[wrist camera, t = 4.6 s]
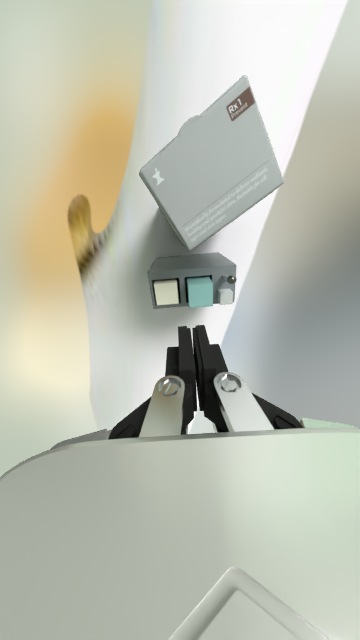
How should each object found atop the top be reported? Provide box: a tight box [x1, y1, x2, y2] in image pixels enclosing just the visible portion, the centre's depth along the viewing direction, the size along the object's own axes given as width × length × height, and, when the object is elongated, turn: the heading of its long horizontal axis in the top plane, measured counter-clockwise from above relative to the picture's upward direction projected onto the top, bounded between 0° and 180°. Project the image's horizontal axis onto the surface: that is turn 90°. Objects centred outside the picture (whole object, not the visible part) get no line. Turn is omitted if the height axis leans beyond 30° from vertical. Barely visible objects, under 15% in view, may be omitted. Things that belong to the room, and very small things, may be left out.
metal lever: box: [222, 275, 236, 284], centre depth 19 cm, size 1×1×4 cm
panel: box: [148, 253, 236, 309], centre depth 26 cm, size 4×10×10 cm, turn 95°
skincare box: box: [139, 75, 284, 250], centre depth 19 cm, size 8×7×16 cm
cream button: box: [154, 278, 179, 305], centre depth 23 cm, size 3×3×3 cm
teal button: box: [187, 276, 213, 308], centre depth 21 cm, size 3×3×3 cm
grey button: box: [218, 289, 233, 305], centre depth 21 cm, size 1×1×1 cm
